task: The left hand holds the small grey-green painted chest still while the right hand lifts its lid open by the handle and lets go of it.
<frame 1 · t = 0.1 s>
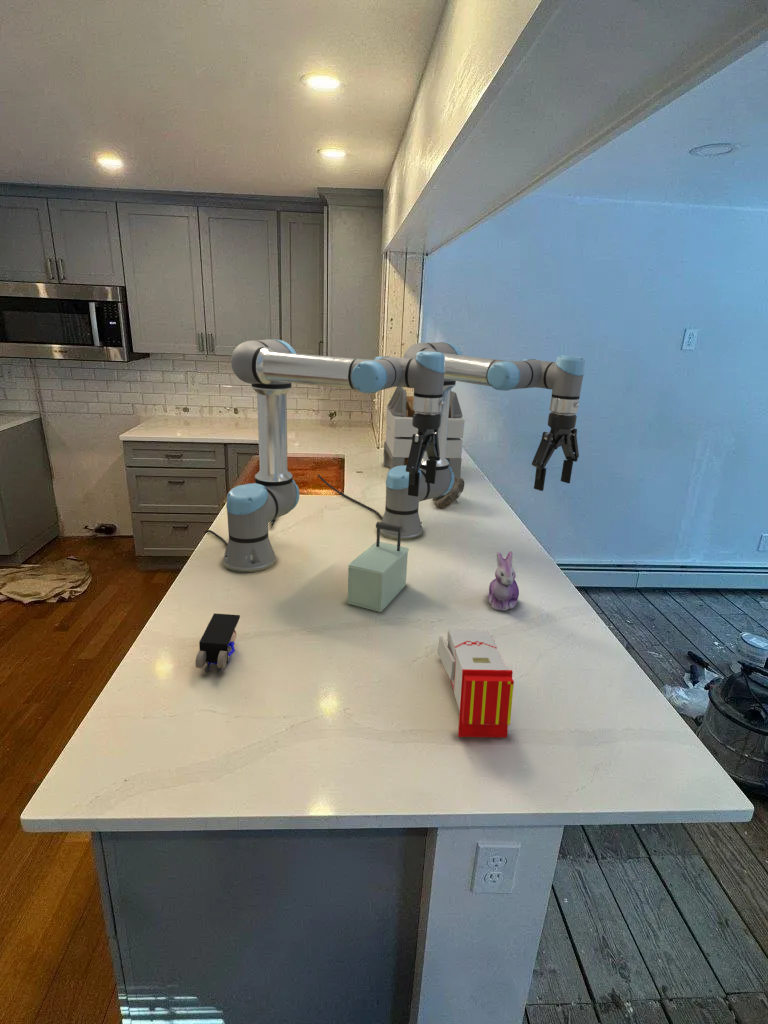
left hand: (421, 489, 157), 28 cm above the counter, tool pointing down, fingers open, 13 cm apart
right hand: (552, 485, 166), 28 cm above the counter, tool pointing down, fingers open, 13 cm apart
lid: (380, 544, 153), point 15 cm above the counter, hinge at 0.0°
toy: (469, 691, 119), on the counter
fossil: (447, 502, 236), on the counter
chest: (377, 594, 157), on the counter
figurine: (502, 603, 155), on the counter
feather: (278, 516, 211), on the counter
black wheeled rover: (220, 658, 126), on the counter
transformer: (419, 473, 275), on the counter
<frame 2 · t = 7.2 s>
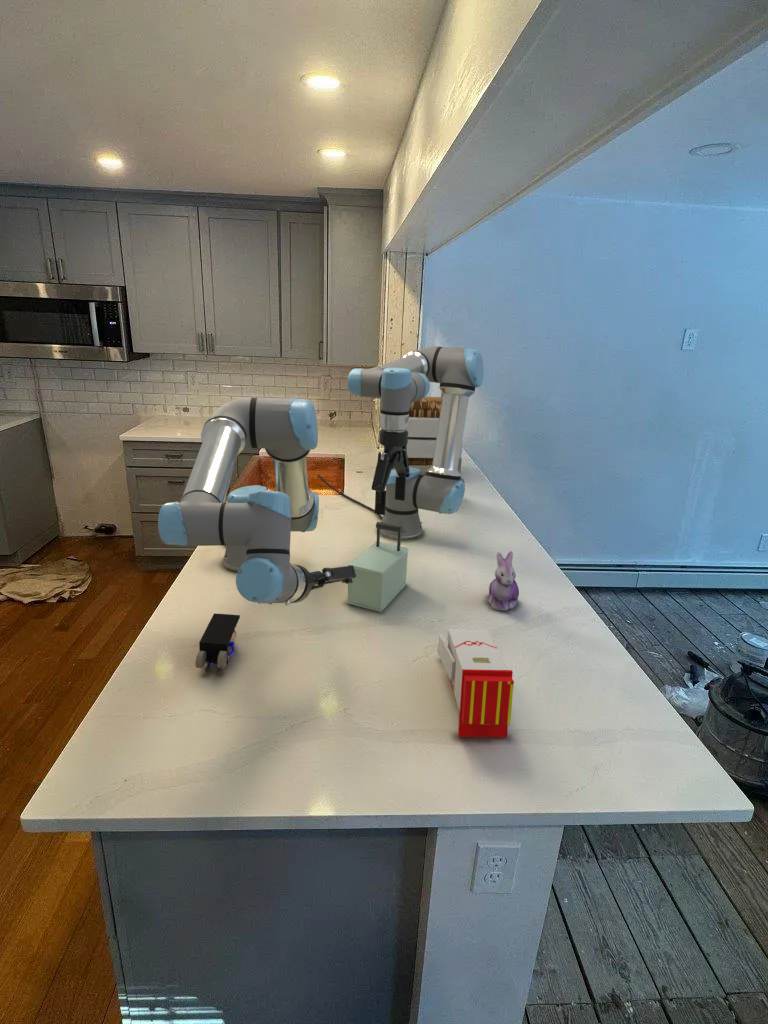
left hand: (321, 585, 128), 15 cm above the counter, tool tilted 65°, fingers open, 13 cm apart
right hand: (390, 506, 154), 24 cm above the counter, tool pointing down, fingers open, 13 cm apart
nothing on the counter moved.
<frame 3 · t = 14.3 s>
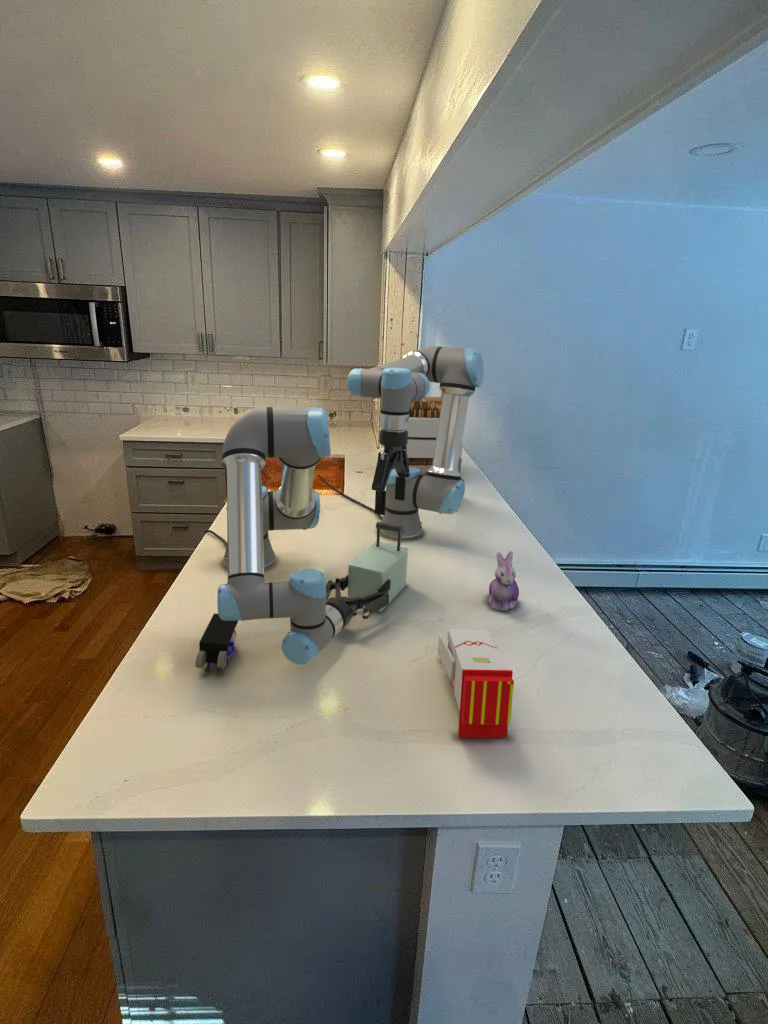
left hand: (370, 580, 151), 6 cm above the counter, tool horizontal, fingers closed on chest, 10 cm apart
right hand: (390, 506, 154), 24 cm above the counter, tool pointing down, fingers open, 13 cm apart
chest: (377, 594, 157), on the counter, touching left hand
everything else where it was.
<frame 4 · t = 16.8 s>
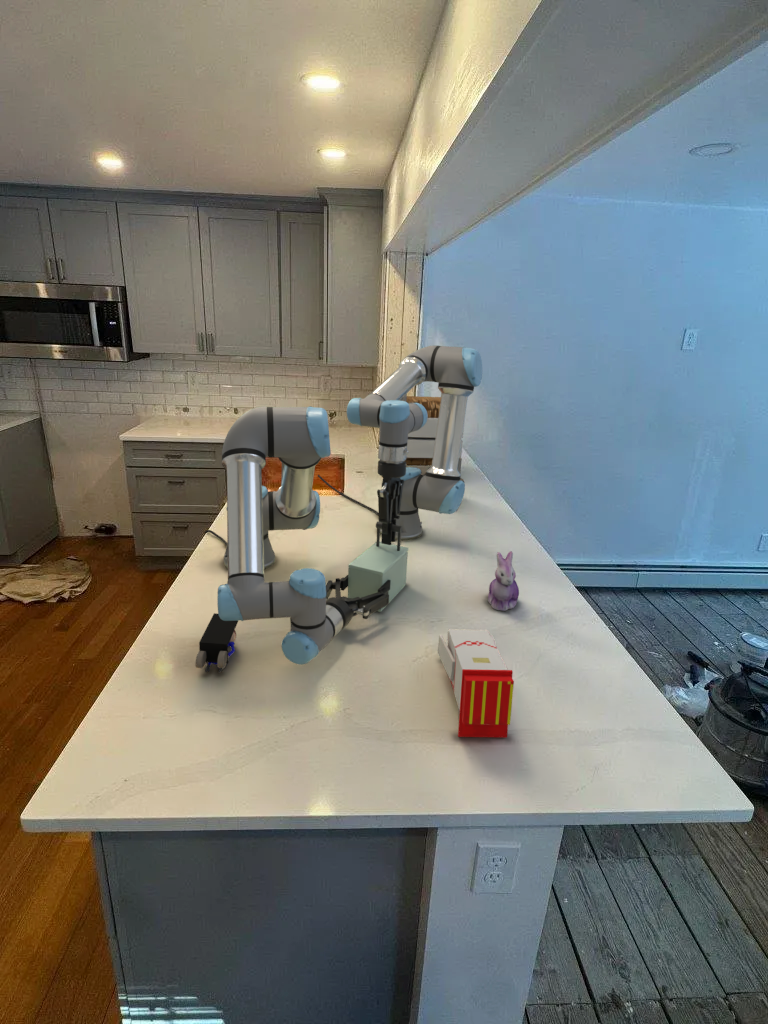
left hand: (370, 580, 151), 7 cm above the counter, tool horizontal, fingers closed on chest, 10 cm apart
right hand: (388, 542, 158), 13 cm above the counter, tool pointing down, fingers closed on lid, 2 cm apart
lid: (380, 544, 153), point 15 cm above the counter, hinge at 0.2°, touching right hand
chest: (377, 594, 157), on the counter, touching left hand
everything else where it was.
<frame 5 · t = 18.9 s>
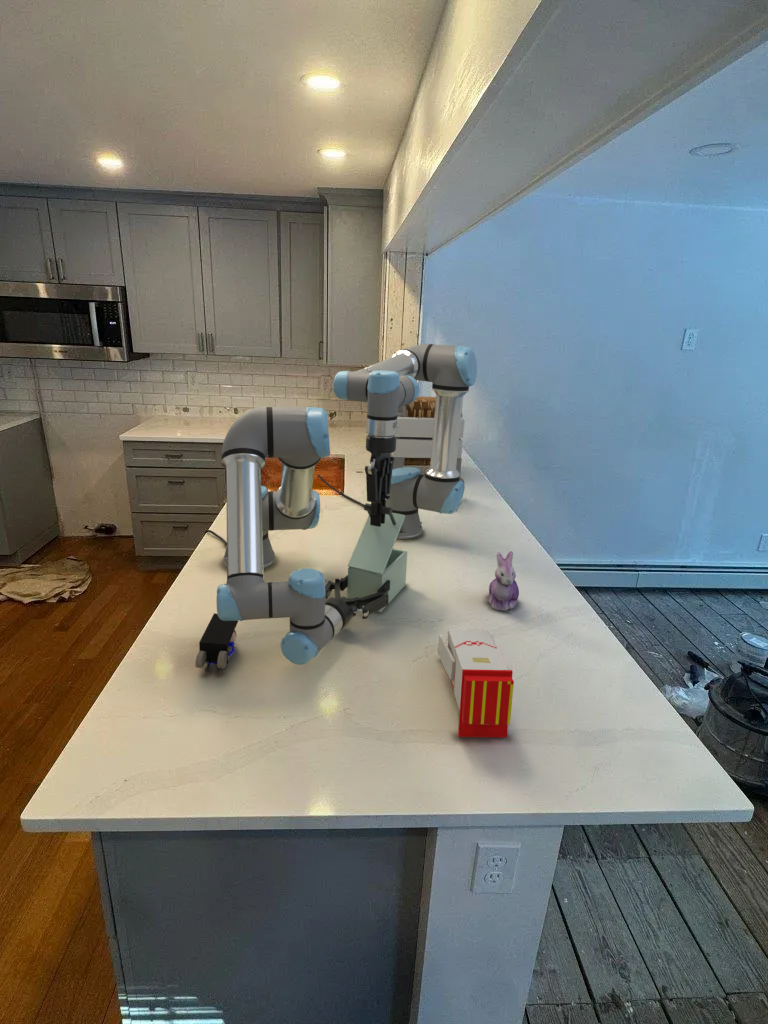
left hand: (370, 580, 151), 6 cm above the counter, tool horizontal, fingers closed on chest, 10 cm apart
right hand: (377, 523, 148), 22 cm above the counter, tool pointing down, fingers closed on lid, 2 cm apart
lid: (373, 533, 147), point 20 cm above the counter, hinge at 39.1°, touching right hand
chest: (377, 594, 157), on the counter, touching left hand
everything else where it was.
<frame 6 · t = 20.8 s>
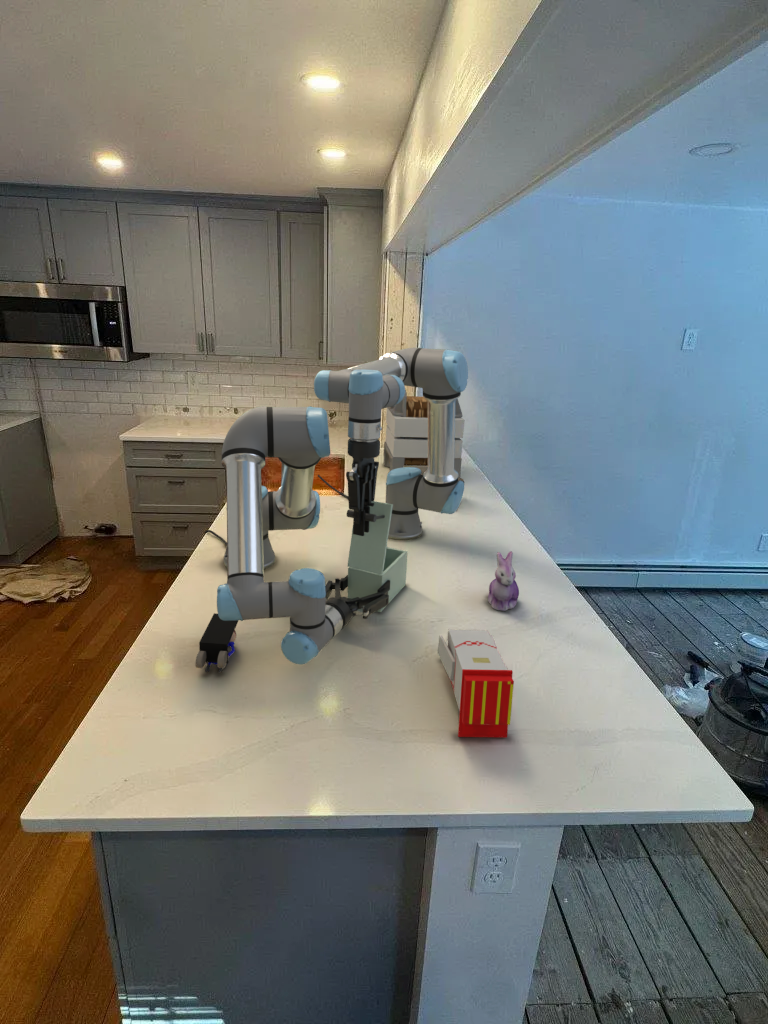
left hand: (370, 580, 151), 6 cm above the counter, tool horizontal, fingers closed on chest, 10 cm apart
right hand: (361, 532, 139), 23 cm above the counter, tool pointing down, fingers open, 2 cm apart
lid: (363, 537, 141), point 21 cm above the counter, hinge at 75.2°
chest: (377, 593, 157), on the counter, touching left hand
everything else where it was.
when the left hand's fingers open (6 cm above the counter, at t = 24.8 s): chest stays where it is, on the counter.
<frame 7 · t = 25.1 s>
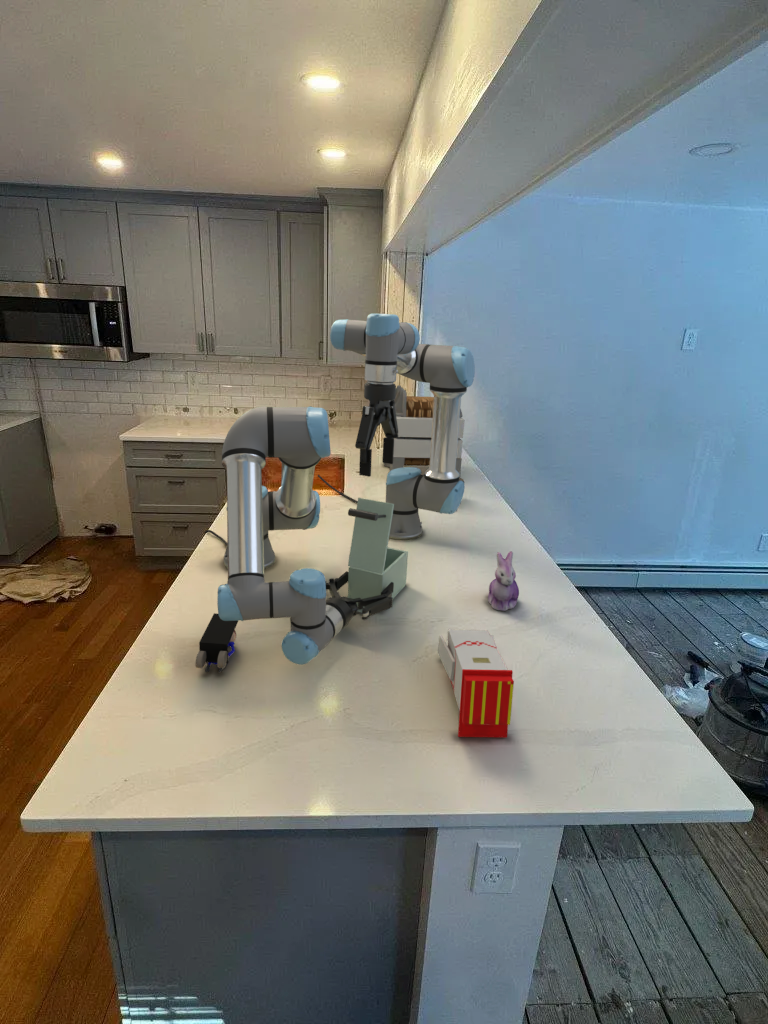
left hand: (369, 581, 150), 6 cm above the counter, tool horizontal, fingers open, 12 cm apart
right hand: (376, 469, 142), 37 cm above the counter, tool pointing down, fingers open, 13 cm apart
lid: (364, 536, 142), point 21 cm above the counter, hinge at 74.2°
chest: (377, 593, 157), on the counter
everything else where it was.
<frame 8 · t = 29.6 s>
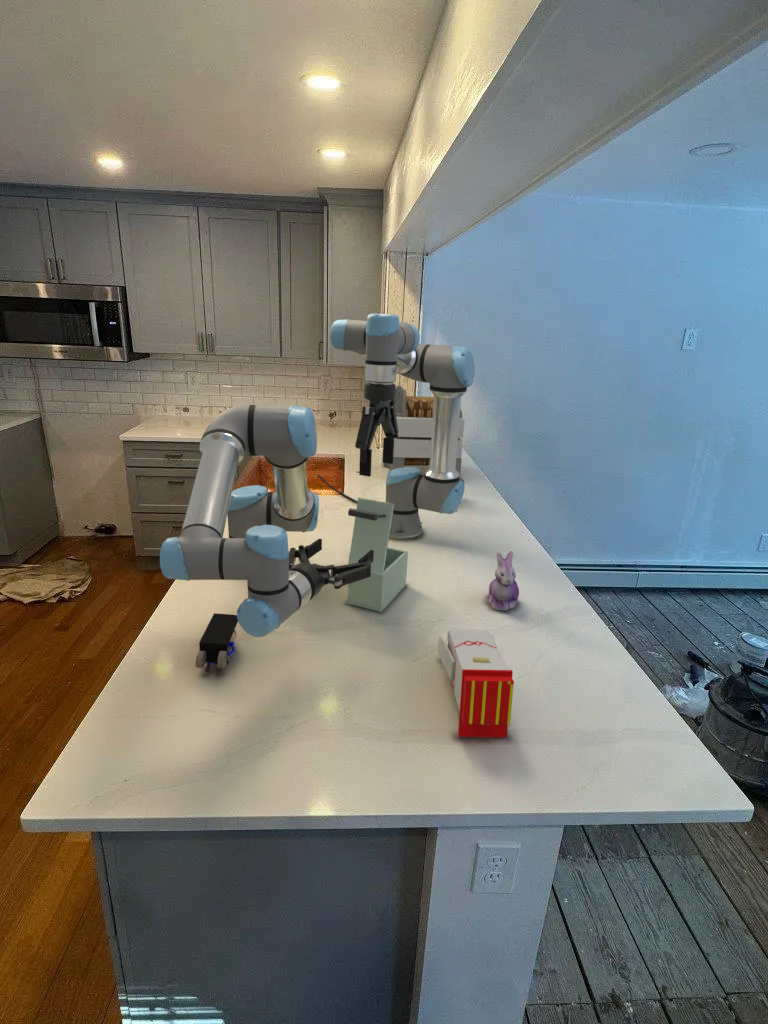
left hand: (345, 549, 133), 21 cm above the counter, tool horizontal, fingers open, 13 cm apart
right hand: (376, 469, 142), 37 cm above the counter, tool pointing down, fingers open, 13 cm apart
nothing on the counter moved.
at the end: lid at +74° (first picture: +0°); the left hand is holding nothing; the right hand is holding nothing; chest tilted 0°; chest never tilted more than 1° during the clip; chest moved 0.1 cm from its start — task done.
